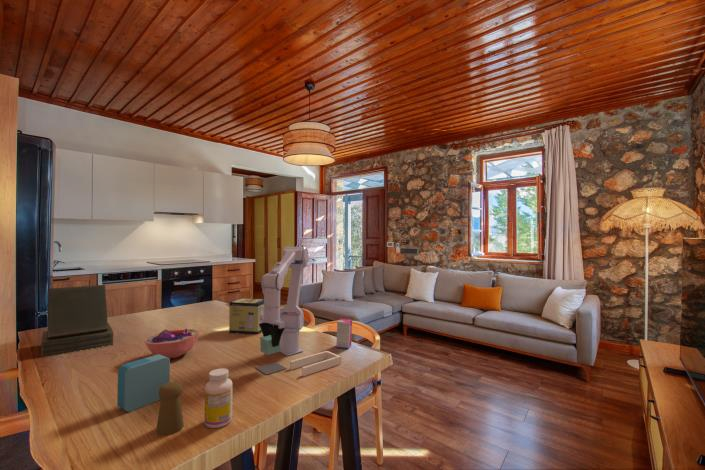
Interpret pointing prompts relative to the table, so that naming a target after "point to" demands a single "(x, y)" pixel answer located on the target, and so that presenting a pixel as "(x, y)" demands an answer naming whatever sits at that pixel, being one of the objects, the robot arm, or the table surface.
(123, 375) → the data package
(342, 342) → the supplement box
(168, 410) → the brown pepper mill
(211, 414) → the supplement bottle
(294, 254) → the robot arm
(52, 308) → the dark stepped-base plaque
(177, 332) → the cell model
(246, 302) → the protein box
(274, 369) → the mat
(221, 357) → the table surface
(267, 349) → the block
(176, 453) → the table surface
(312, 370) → the frame
